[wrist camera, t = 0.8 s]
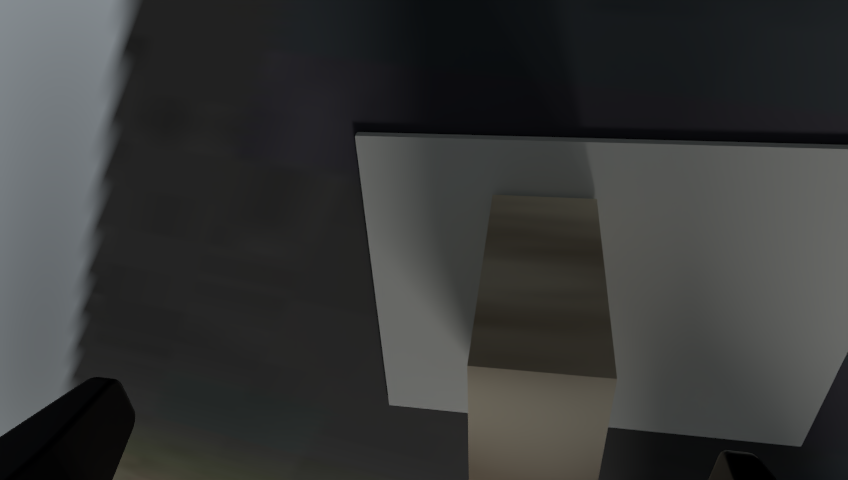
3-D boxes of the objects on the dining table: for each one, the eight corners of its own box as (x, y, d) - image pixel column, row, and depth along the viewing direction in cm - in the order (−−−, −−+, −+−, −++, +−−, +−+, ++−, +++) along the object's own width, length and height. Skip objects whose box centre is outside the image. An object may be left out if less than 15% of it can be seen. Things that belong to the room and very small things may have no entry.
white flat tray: (798, 440, 26) (801, 446, 26) (390, 399, 29) (389, 404, 29) (940, 147, 18) (945, 151, 18) (357, 132, 21) (354, 135, 21)
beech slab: (571, 393, 27) (577, 588, 20) (490, 385, 27) (470, 572, 21) (596, 196, 21) (617, 378, 14) (493, 191, 21) (467, 366, 15)
